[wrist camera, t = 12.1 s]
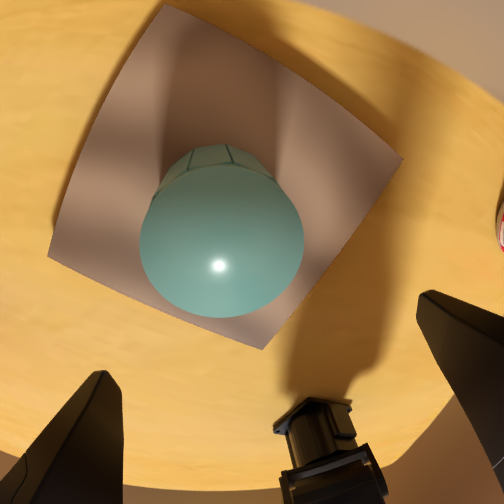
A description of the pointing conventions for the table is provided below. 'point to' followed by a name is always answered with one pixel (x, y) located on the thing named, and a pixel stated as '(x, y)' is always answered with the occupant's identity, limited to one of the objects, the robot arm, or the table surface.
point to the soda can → (500, 227)
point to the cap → (220, 234)
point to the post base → (206, 134)
